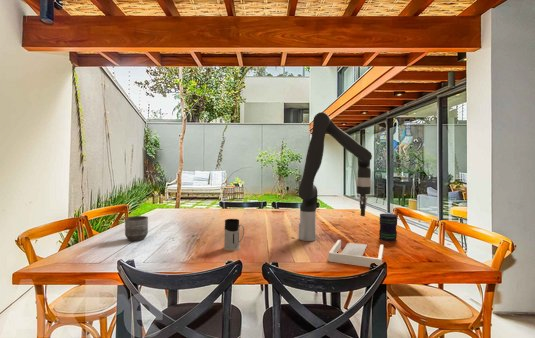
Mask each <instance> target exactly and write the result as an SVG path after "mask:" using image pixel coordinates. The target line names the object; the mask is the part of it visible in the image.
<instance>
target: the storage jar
mask: <svg viewBox="0 0 535 338" xmlns="http://www.w3.org/2000/svg"><path fill="white" fill-rule="evenodd" d="M397 225H398V215H397V214H393V213H379V230H378V235H379V238H378V239H379V240H380V241H383V242H388V243H391V242H392V243H394V242H397V237H398V231H397Z"/></svg>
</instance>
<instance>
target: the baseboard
mask: <svg viewBox="0 0 535 338" xmlns="http://www.w3.org/2000/svg"><path fill="white" fill-rule="evenodd" d="M367 247H368V243H363V242H360V243H359V241H358V240H356V243H355V242H352V241H351V242H350V241H349V242H347V243H346V245H345V247H343V249H342V251H341V252H340V253H342V254H349V255H357V256H364V254H365V252H366V250H365V249H367Z"/></svg>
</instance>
